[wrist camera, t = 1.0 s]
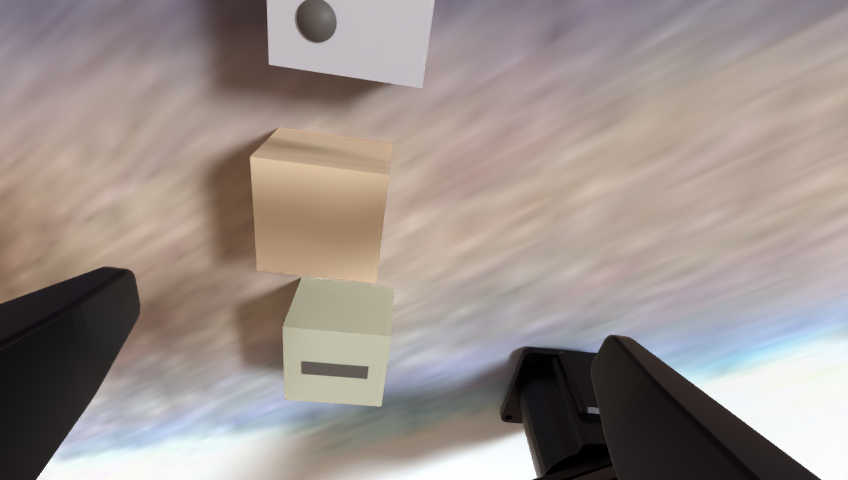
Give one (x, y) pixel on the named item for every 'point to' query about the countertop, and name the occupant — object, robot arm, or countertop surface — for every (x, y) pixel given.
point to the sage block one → (337, 342)
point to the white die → (352, 38)
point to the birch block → (319, 204)
